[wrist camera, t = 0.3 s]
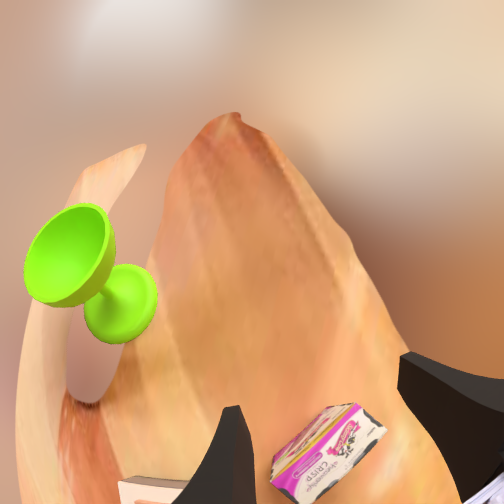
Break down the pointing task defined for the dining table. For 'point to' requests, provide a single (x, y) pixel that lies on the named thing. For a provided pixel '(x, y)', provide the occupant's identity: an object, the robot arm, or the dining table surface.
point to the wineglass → (89, 274)
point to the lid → (146, 494)
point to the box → (157, 482)
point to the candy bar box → (324, 452)
